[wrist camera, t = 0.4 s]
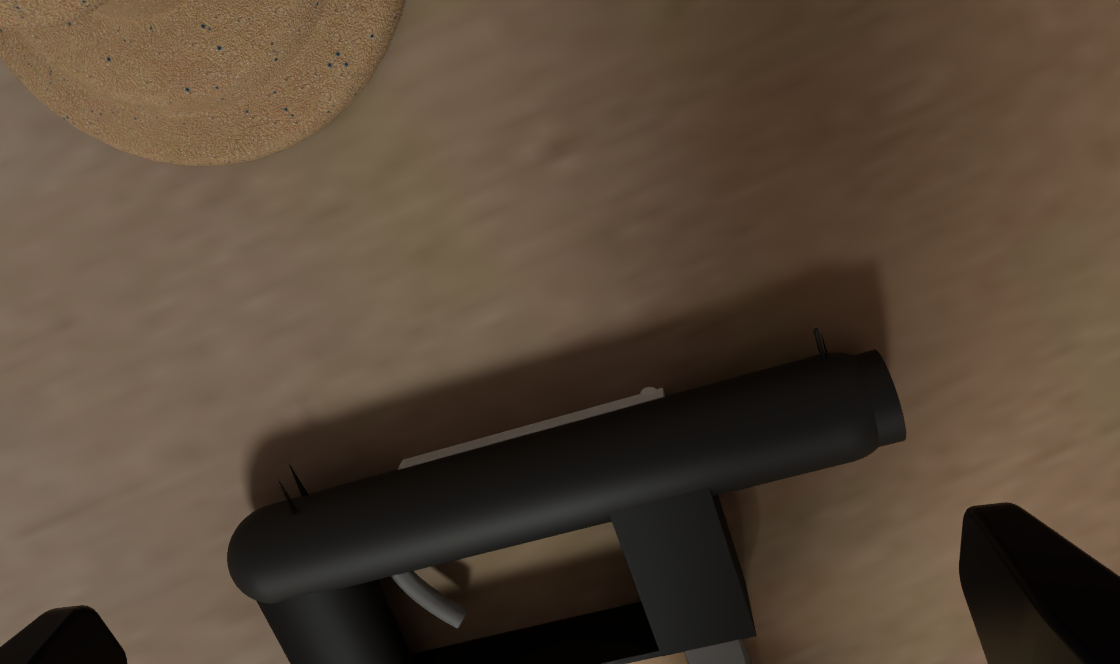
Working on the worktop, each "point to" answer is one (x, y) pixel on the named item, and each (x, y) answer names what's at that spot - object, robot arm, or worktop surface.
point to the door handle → (566, 518)
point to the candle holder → (197, 69)
